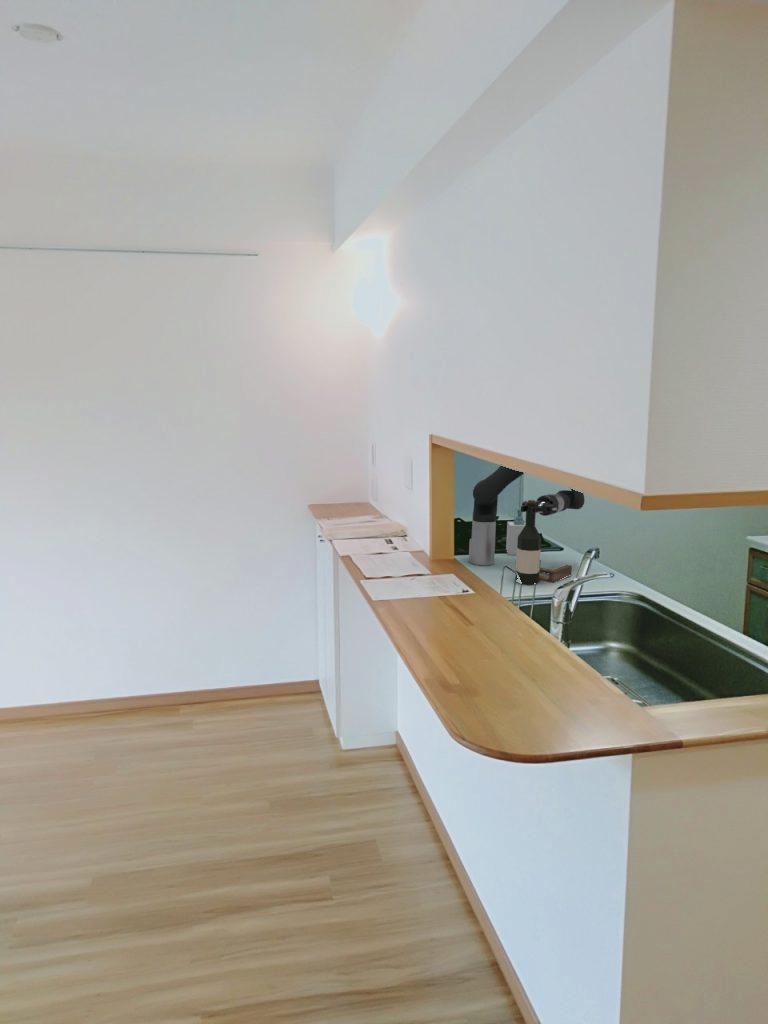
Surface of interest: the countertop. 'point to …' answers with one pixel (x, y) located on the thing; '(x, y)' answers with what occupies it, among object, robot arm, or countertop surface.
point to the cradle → (555, 573)
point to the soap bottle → (514, 533)
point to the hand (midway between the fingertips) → (527, 509)
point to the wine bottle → (529, 549)
